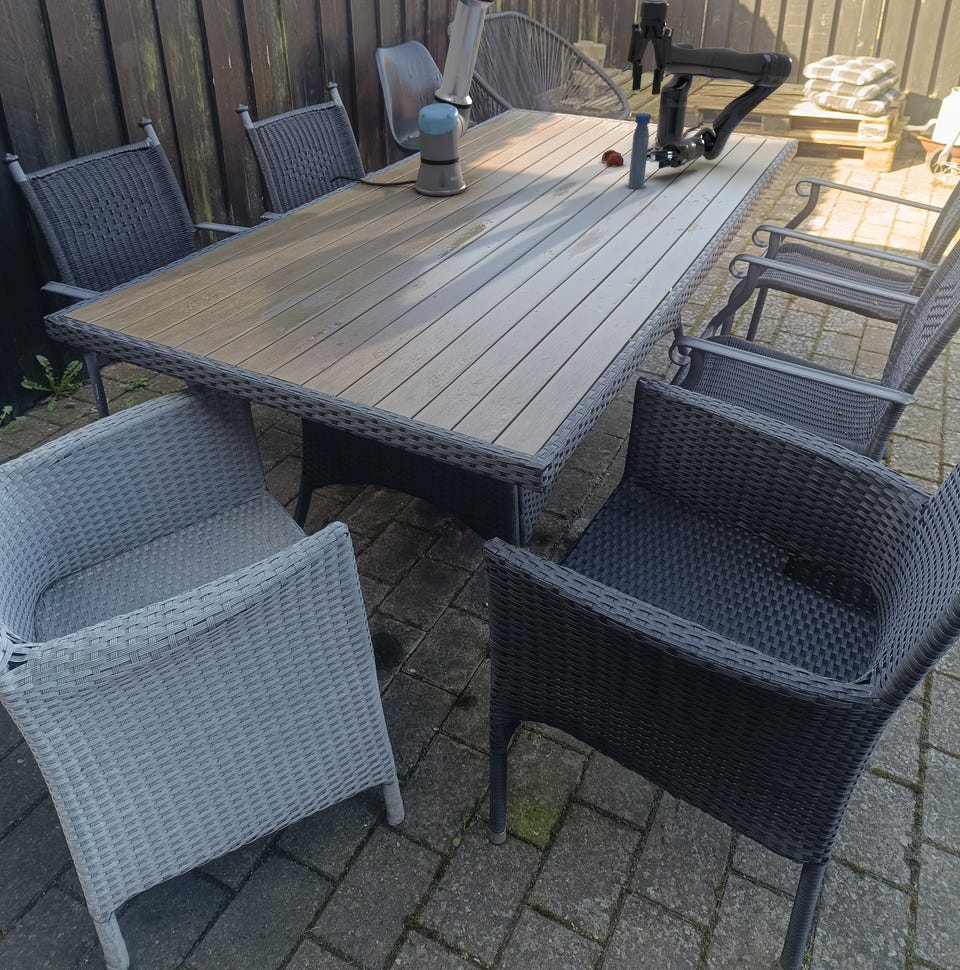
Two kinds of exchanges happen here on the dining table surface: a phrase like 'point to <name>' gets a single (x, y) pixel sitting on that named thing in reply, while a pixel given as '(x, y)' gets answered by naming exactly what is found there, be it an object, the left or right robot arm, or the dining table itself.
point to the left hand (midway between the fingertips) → (645, 91)
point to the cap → (643, 118)
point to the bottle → (638, 156)
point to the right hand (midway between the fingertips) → (648, 162)
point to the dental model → (612, 158)
